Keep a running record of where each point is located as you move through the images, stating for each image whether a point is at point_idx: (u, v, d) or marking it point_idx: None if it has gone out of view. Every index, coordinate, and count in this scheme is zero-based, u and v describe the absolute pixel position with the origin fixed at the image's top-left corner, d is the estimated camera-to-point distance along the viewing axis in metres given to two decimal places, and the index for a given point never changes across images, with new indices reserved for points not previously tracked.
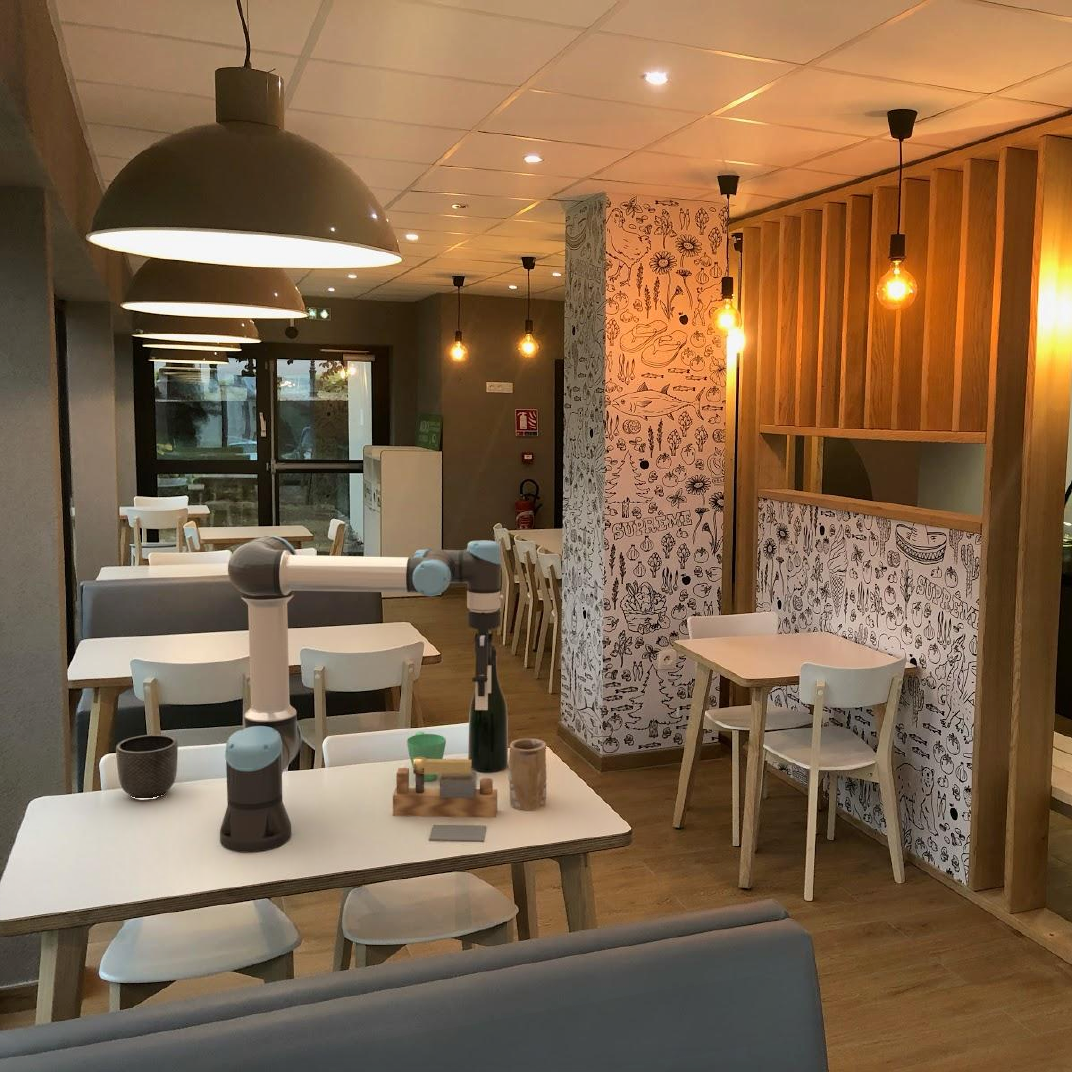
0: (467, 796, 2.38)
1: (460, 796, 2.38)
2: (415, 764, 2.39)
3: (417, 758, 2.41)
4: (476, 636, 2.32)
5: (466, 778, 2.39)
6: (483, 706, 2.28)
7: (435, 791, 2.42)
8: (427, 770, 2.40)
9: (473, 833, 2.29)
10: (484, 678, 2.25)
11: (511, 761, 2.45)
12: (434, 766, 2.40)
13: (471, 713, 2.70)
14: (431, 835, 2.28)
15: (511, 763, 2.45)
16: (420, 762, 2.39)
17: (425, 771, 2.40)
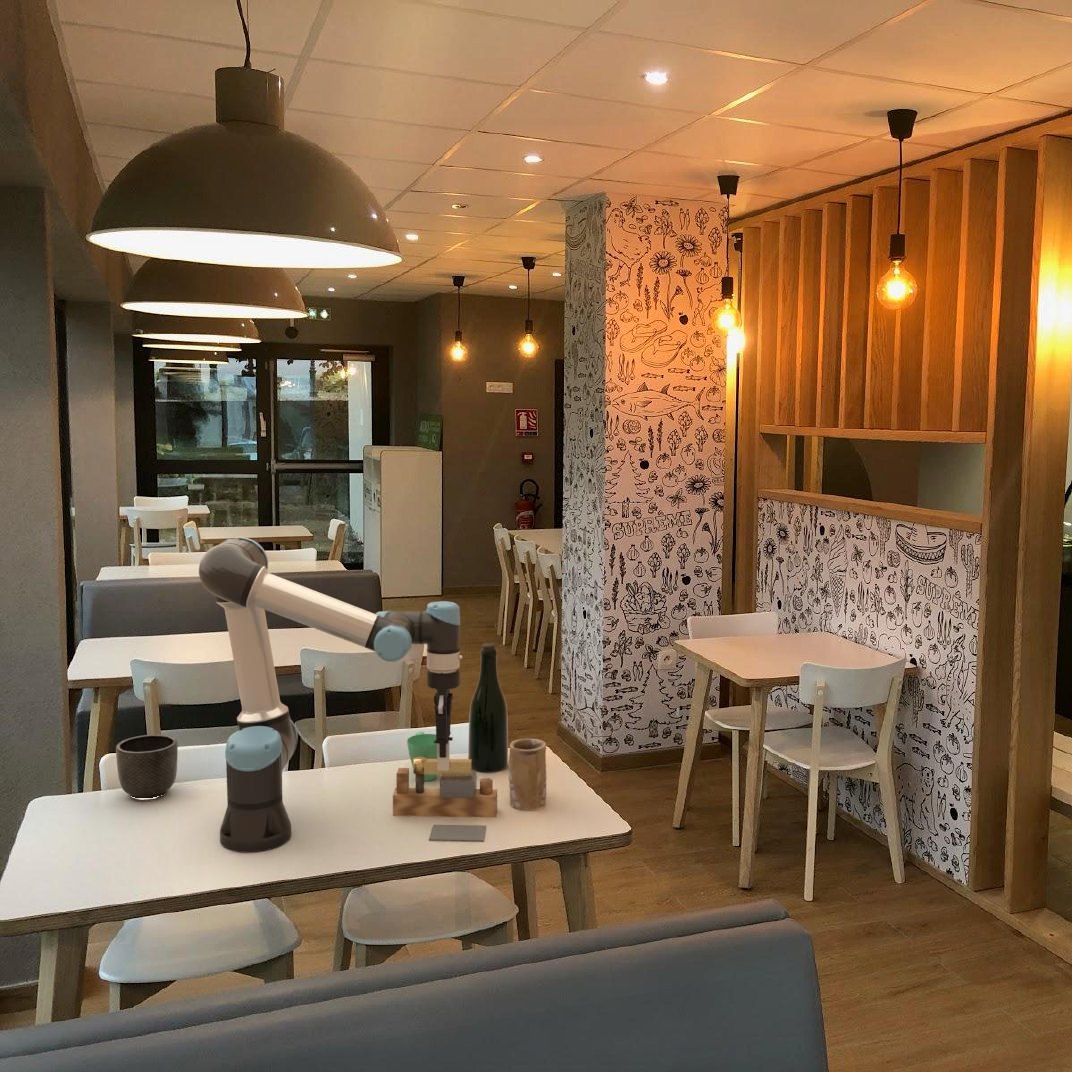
0: (467, 796, 2.38)
1: (460, 796, 2.38)
2: (415, 764, 2.39)
3: (417, 758, 2.41)
4: (435, 697, 2.36)
5: (466, 778, 2.39)
6: (444, 767, 2.38)
7: (435, 791, 2.42)
8: (427, 770, 2.40)
9: (473, 833, 2.29)
10: (445, 742, 2.35)
11: (511, 761, 2.45)
12: (434, 765, 2.40)
13: (471, 713, 2.70)
14: (431, 835, 2.28)
15: (511, 763, 2.45)
16: (420, 762, 2.39)
17: (425, 771, 2.40)
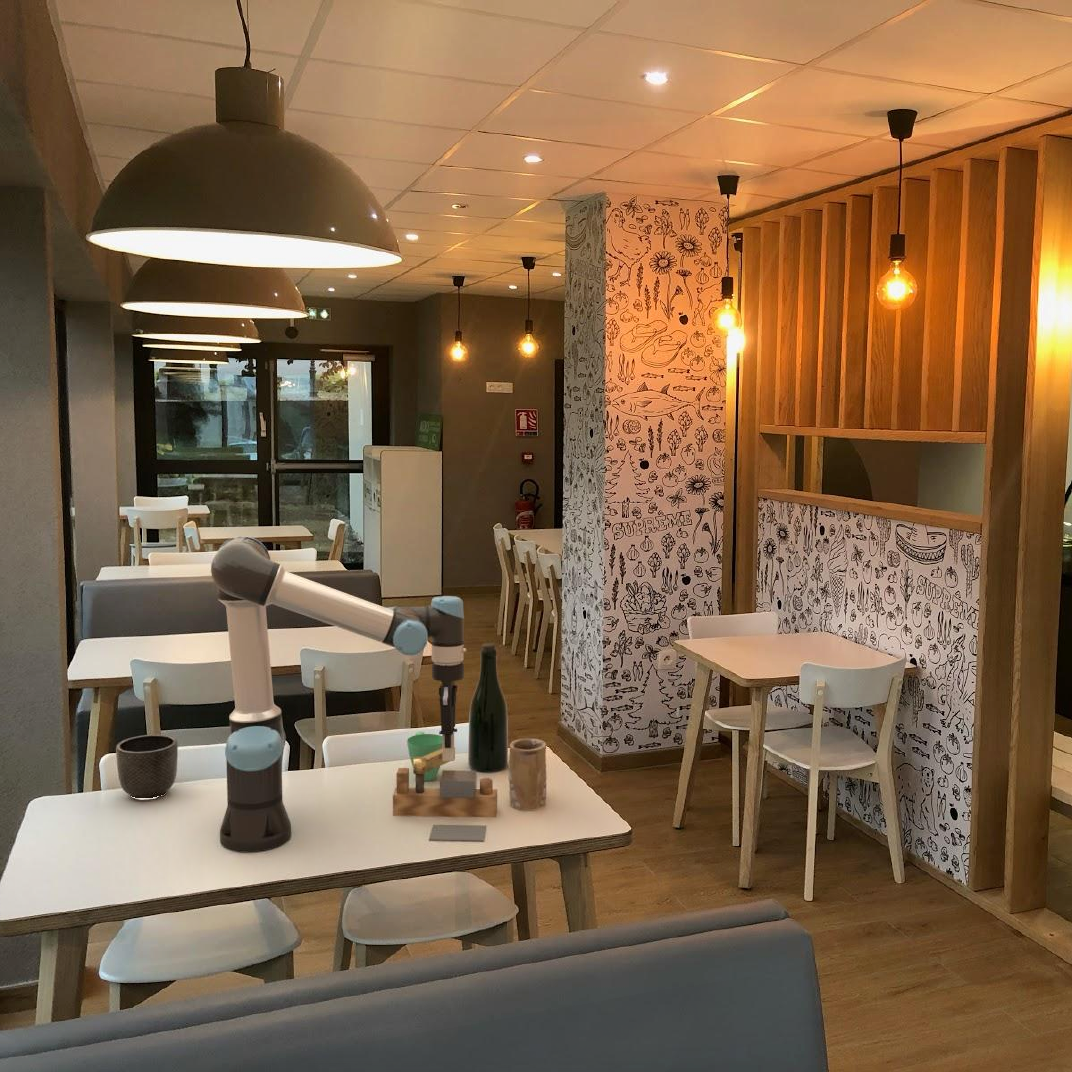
0: (467, 796, 2.38)
1: (460, 796, 2.38)
2: (421, 764, 2.39)
3: (417, 759, 2.40)
4: (440, 689, 2.42)
5: (466, 778, 2.39)
6: (450, 757, 2.45)
7: (435, 791, 2.42)
8: (428, 767, 2.42)
9: (473, 833, 2.29)
10: (450, 732, 2.42)
11: (511, 761, 2.45)
12: (432, 760, 2.43)
13: (471, 713, 2.70)
14: (431, 835, 2.28)
15: (511, 763, 2.45)
16: (425, 761, 2.40)
17: (427, 768, 2.41)
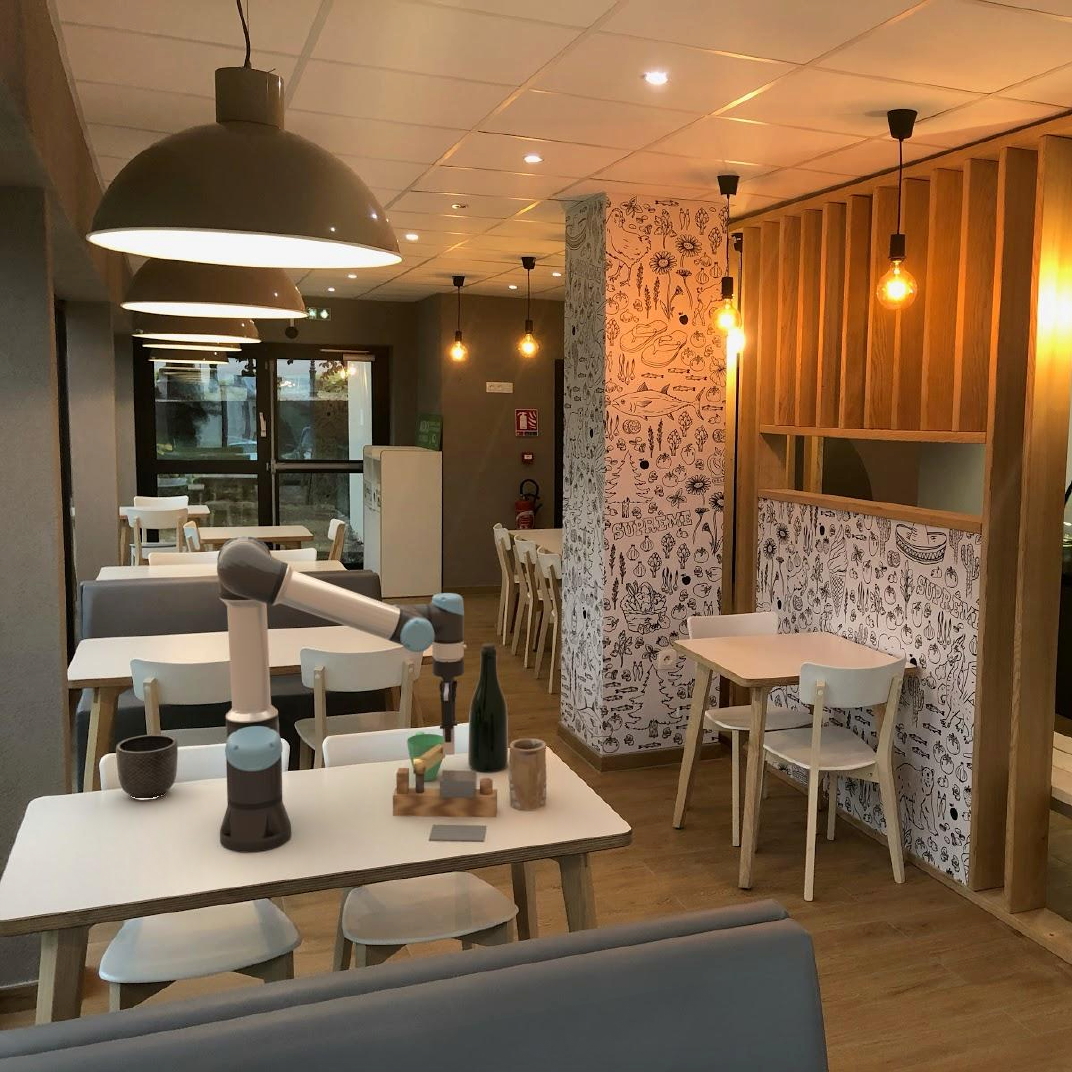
0: (467, 796, 2.38)
1: (460, 796, 2.38)
2: (422, 764, 2.39)
3: (417, 759, 2.40)
4: (441, 685, 2.46)
5: (466, 778, 2.39)
6: (450, 751, 2.49)
7: (435, 791, 2.42)
8: (427, 767, 2.42)
9: (473, 833, 2.29)
10: (450, 727, 2.46)
11: (511, 761, 2.45)
12: (430, 760, 2.44)
13: (471, 713, 2.70)
14: (431, 835, 2.28)
15: (511, 763, 2.45)
16: (426, 760, 2.40)
17: (426, 768, 2.42)
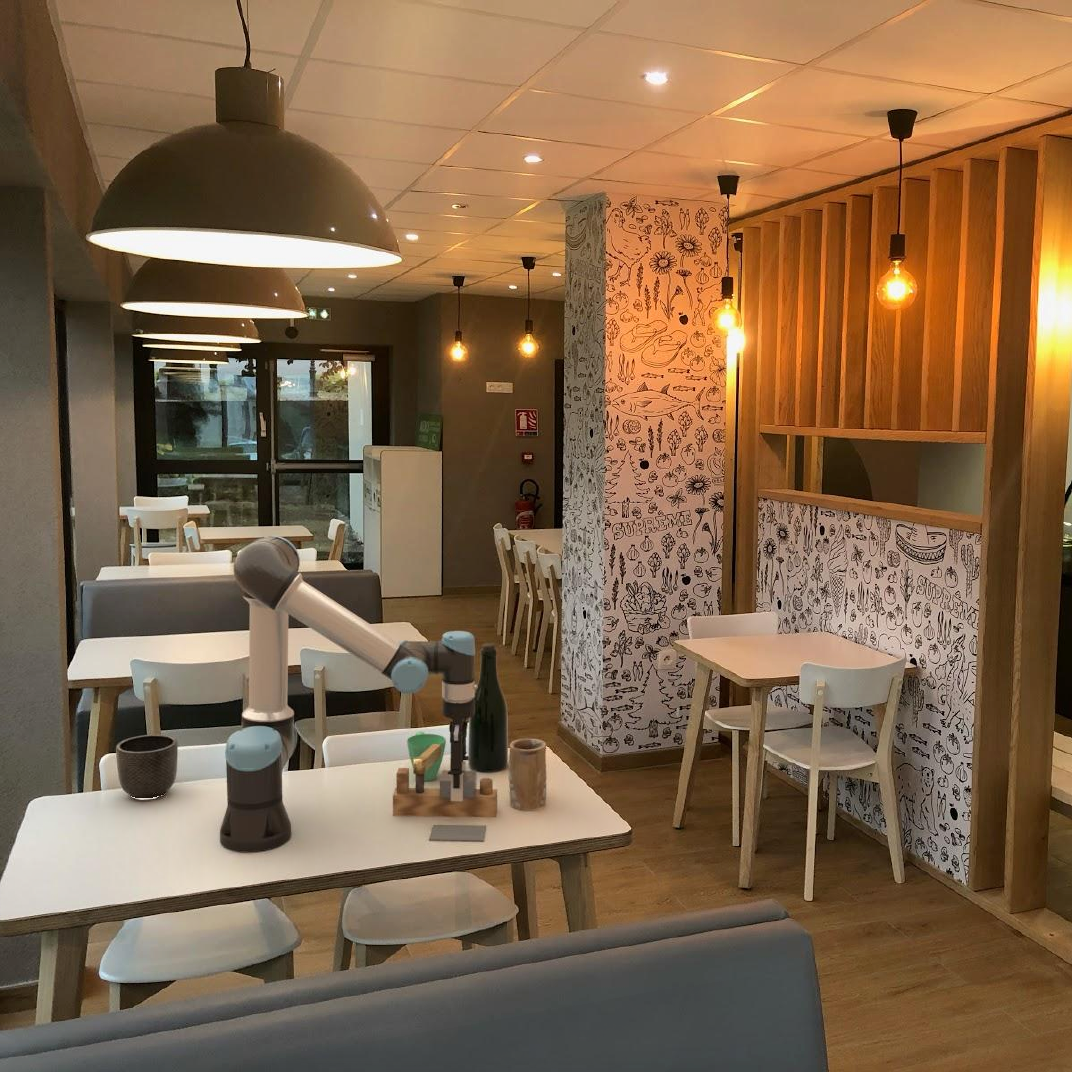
0: (467, 796, 2.38)
1: None
2: (423, 764, 2.40)
3: (417, 759, 2.40)
4: (451, 726, 2.38)
5: (466, 778, 2.39)
6: (458, 797, 2.37)
7: (435, 791, 2.42)
8: (426, 767, 2.42)
9: (473, 833, 2.29)
10: (459, 773, 2.33)
11: (511, 761, 2.45)
12: (428, 759, 2.44)
13: None
14: (431, 835, 2.28)
15: (511, 763, 2.45)
16: (426, 760, 2.41)
17: (426, 768, 2.42)
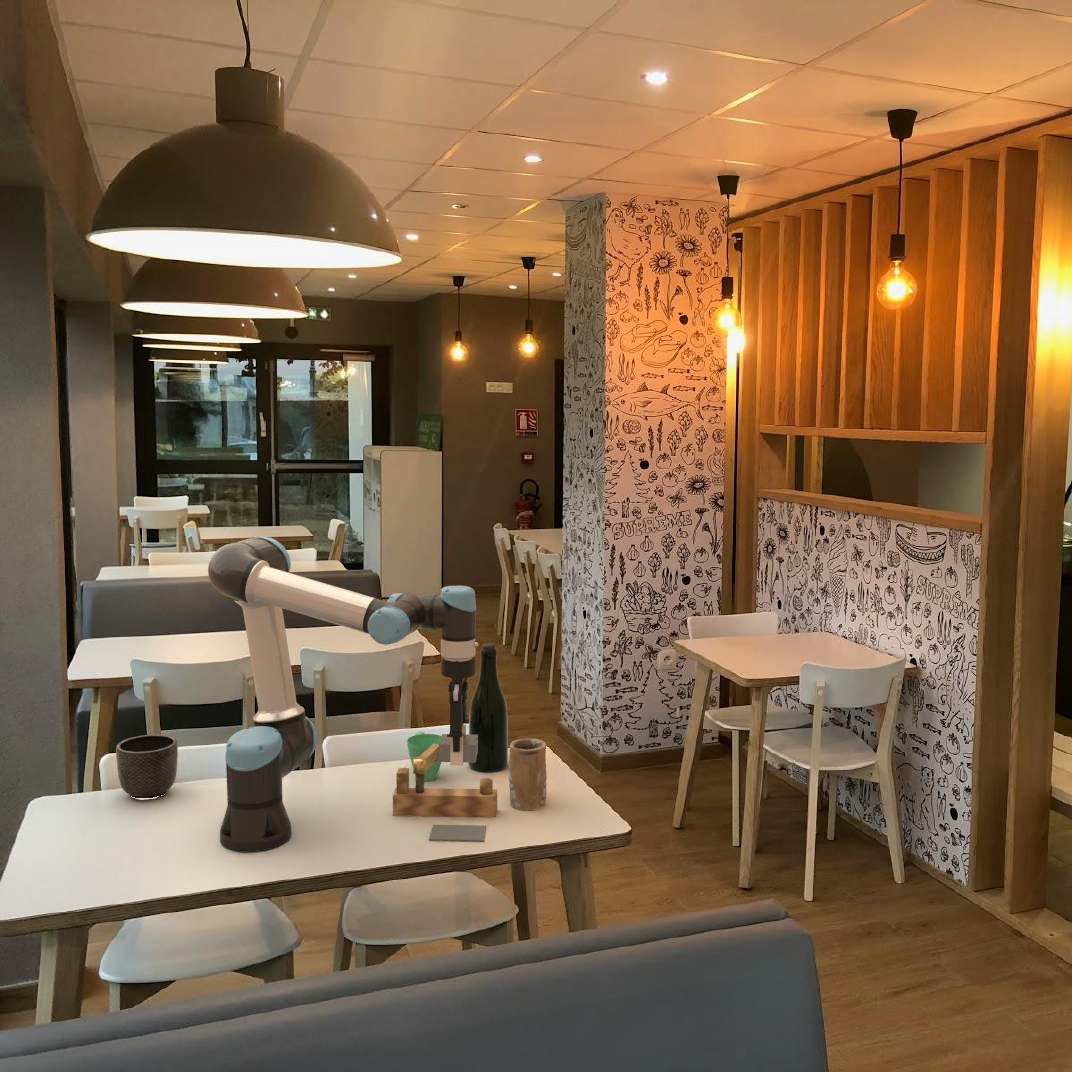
0: (468, 760, 2.24)
1: None
2: (423, 764, 2.40)
3: (417, 759, 2.40)
4: (450, 686, 2.24)
5: (466, 742, 2.26)
6: (458, 762, 2.24)
7: (435, 791, 2.42)
8: (426, 767, 2.42)
9: (473, 833, 2.29)
10: (459, 735, 2.20)
11: (511, 761, 2.45)
12: (428, 759, 2.44)
13: (471, 713, 2.70)
14: (431, 835, 2.28)
15: (511, 763, 2.45)
16: (426, 760, 2.41)
17: (426, 768, 2.42)
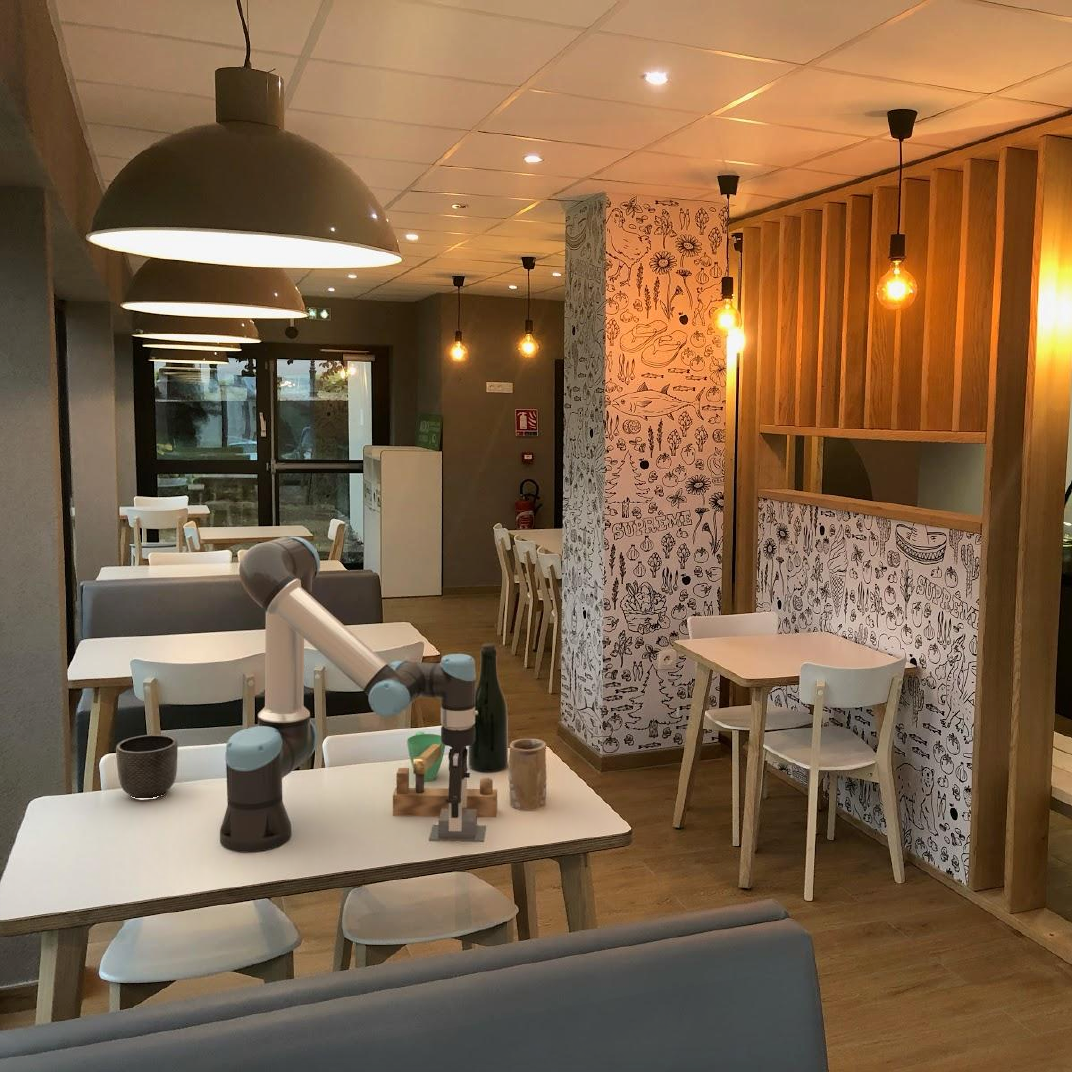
0: (467, 837, 2.26)
1: (460, 837, 2.27)
2: (423, 764, 2.40)
3: (417, 759, 2.40)
4: (450, 753, 2.26)
5: (466, 818, 2.28)
6: (457, 827, 2.23)
7: (435, 791, 2.42)
8: (426, 767, 2.42)
9: None
10: (457, 800, 2.19)
11: (511, 761, 2.45)
12: (428, 759, 2.44)
13: None
14: (431, 835, 2.28)
15: (511, 763, 2.45)
16: (426, 760, 2.41)
17: (426, 768, 2.42)
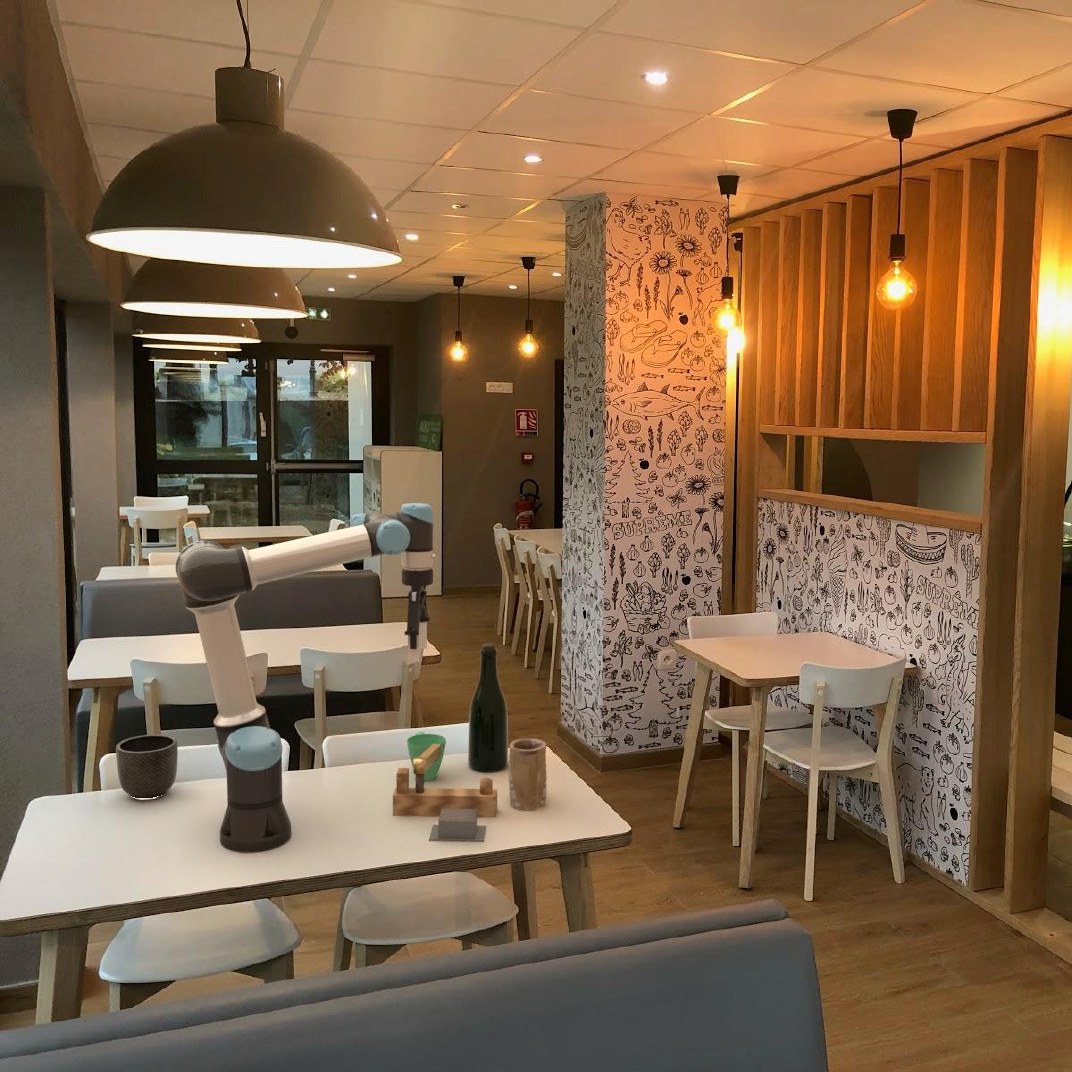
0: (467, 837, 2.26)
1: (460, 837, 2.27)
2: (423, 764, 2.40)
3: (417, 759, 2.40)
4: None
5: (466, 818, 2.28)
6: (415, 658, 2.42)
7: (435, 791, 2.42)
8: (426, 767, 2.42)
9: None
10: (415, 631, 2.39)
11: (511, 761, 2.45)
12: (428, 759, 2.44)
13: (471, 713, 2.70)
14: (431, 835, 2.28)
15: (511, 763, 2.45)
16: (426, 760, 2.41)
17: (426, 768, 2.42)
